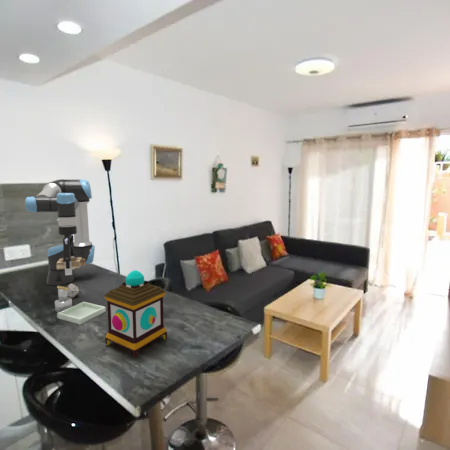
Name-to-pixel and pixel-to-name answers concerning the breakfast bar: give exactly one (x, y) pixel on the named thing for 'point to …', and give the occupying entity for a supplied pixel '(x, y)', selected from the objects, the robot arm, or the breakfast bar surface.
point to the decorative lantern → (135, 313)
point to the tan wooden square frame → (75, 263)
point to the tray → (81, 313)
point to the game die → (72, 290)
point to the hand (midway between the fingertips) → (70, 271)
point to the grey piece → (62, 299)
